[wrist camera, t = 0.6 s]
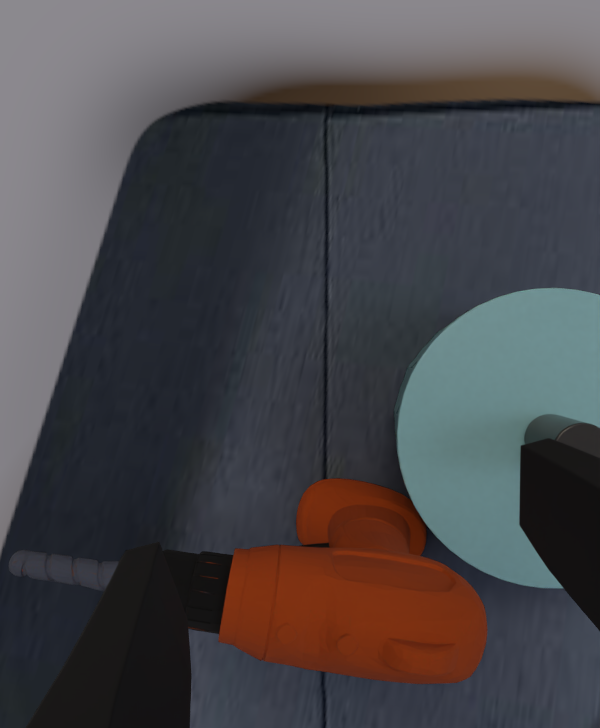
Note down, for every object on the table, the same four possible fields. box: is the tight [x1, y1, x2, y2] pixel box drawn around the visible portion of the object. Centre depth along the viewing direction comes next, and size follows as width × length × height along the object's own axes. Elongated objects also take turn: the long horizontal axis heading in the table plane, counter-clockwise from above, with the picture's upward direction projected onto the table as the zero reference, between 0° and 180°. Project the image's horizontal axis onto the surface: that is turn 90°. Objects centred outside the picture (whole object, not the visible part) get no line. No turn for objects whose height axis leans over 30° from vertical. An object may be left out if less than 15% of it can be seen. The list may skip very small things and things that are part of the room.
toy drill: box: [9, 478, 487, 684], centre depth 25 cm, size 5×19×15 cm, turn 80°
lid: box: [396, 288, 600, 588], centre depth 24 cm, size 14×14×5 cm
